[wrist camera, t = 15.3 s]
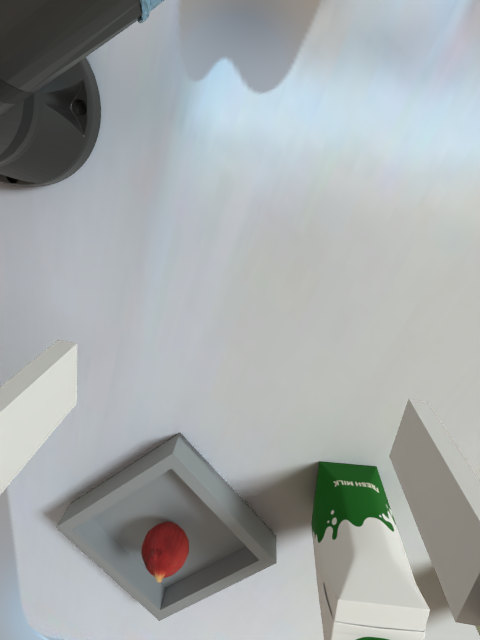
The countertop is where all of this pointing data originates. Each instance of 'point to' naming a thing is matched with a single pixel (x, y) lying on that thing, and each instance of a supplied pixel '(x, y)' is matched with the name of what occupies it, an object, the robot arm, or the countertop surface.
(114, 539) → the tray
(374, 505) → the milk carton
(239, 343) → the countertop surface
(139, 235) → the countertop surface
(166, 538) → the onion
